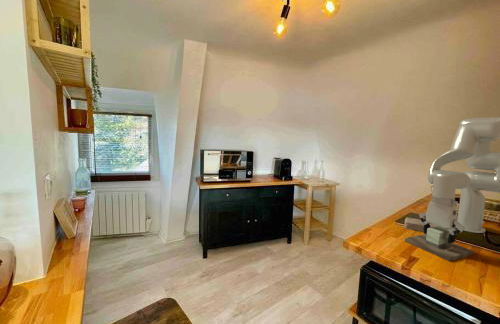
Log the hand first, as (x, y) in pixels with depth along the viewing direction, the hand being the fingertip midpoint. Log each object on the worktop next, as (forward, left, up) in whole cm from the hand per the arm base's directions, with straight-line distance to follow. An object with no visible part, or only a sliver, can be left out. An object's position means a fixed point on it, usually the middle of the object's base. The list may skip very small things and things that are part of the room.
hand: (438, 237), depth 100 cm
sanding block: (0, 0, -3) cm, 3 cm away
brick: (-15, -15, -5) cm, 22 cm away
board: (0, 0, -5) cm, 5 cm away
